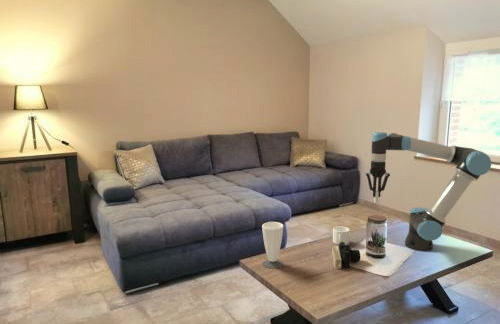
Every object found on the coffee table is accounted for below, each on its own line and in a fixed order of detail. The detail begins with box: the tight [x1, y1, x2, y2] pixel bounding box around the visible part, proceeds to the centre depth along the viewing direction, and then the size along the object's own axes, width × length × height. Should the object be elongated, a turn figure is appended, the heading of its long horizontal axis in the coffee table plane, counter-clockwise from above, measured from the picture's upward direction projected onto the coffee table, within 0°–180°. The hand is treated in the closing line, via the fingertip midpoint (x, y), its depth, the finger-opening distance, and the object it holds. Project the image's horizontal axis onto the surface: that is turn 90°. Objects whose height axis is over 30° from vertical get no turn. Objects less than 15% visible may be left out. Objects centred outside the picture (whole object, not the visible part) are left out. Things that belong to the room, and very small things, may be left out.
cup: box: [261, 221, 284, 269], centre depth 197 cm, size 12×12×22 cm
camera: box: [338, 242, 362, 269], centre depth 199 cm, size 14×11×10 cm
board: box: [331, 245, 342, 270], centre depth 201 cm, size 3×18×5 cm, turn 172°
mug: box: [332, 225, 351, 246], centre depth 223 cm, size 12×10×9 cm
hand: (376, 202), depth 207 cm, fingers closed
